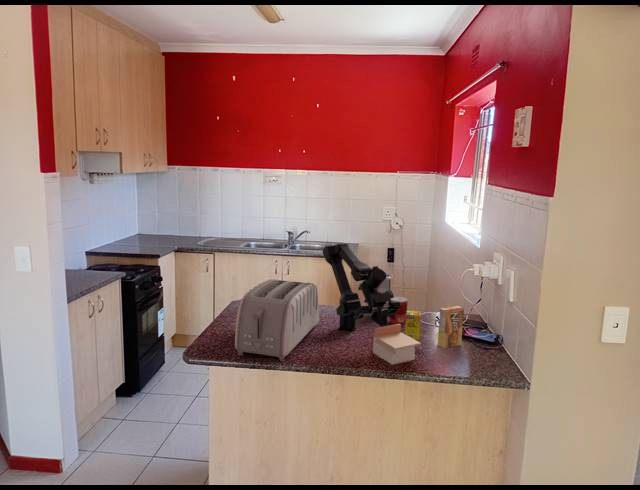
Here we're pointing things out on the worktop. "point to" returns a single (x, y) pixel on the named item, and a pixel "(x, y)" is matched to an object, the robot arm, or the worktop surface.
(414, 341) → the lid
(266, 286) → the toaster
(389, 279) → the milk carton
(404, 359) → the mailer tray
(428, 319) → the worktop surface
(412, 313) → the supplement box
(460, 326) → the candy box
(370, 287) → the robot arm
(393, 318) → the canned food
